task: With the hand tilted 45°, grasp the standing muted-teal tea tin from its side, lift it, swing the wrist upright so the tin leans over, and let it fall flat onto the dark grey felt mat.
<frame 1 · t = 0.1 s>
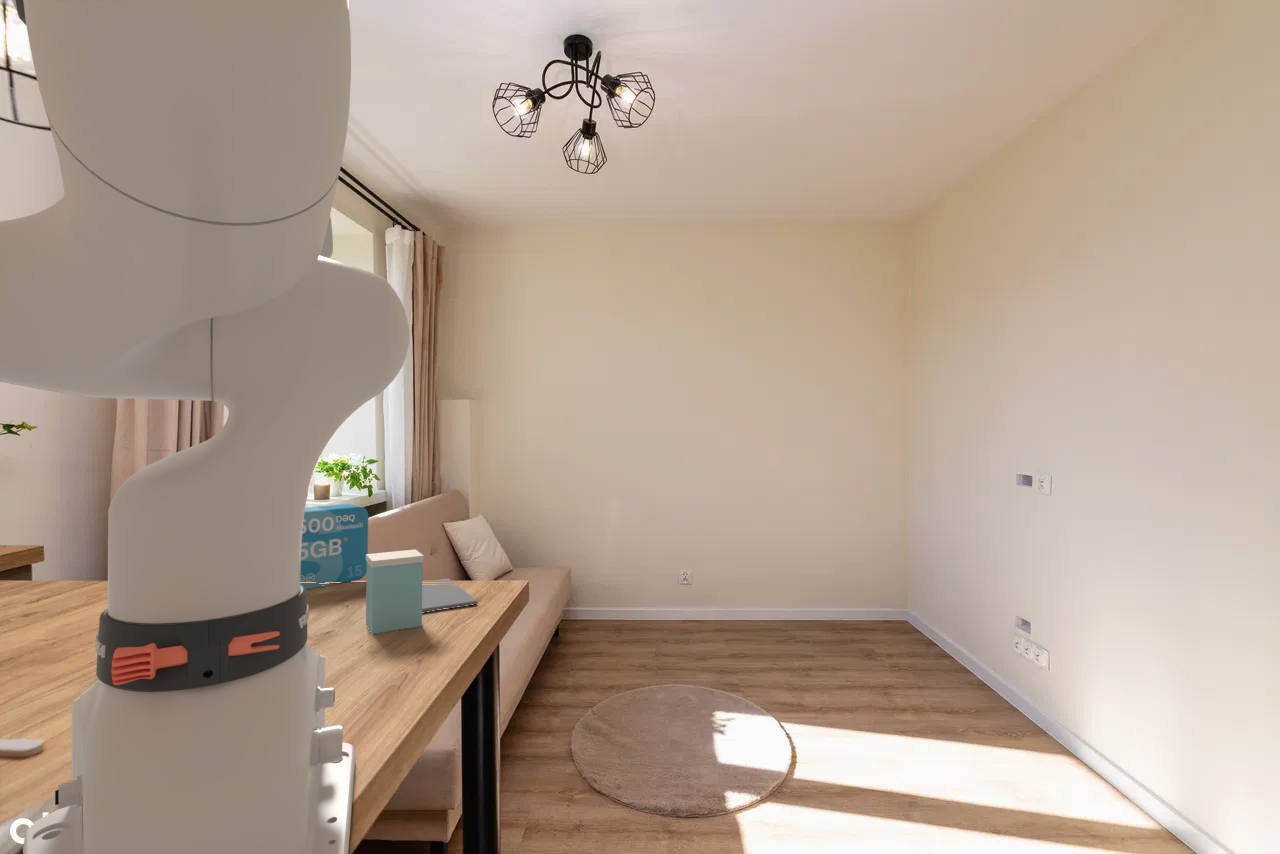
hand: (219, 296, 63), 39 cm above the table, tool pointing down, fingers open, 8 cm apart
data package: (324, 584, 99), on the table
tea tin: (393, 625, 80), on the table
felt mat: (421, 598, 92), on the table
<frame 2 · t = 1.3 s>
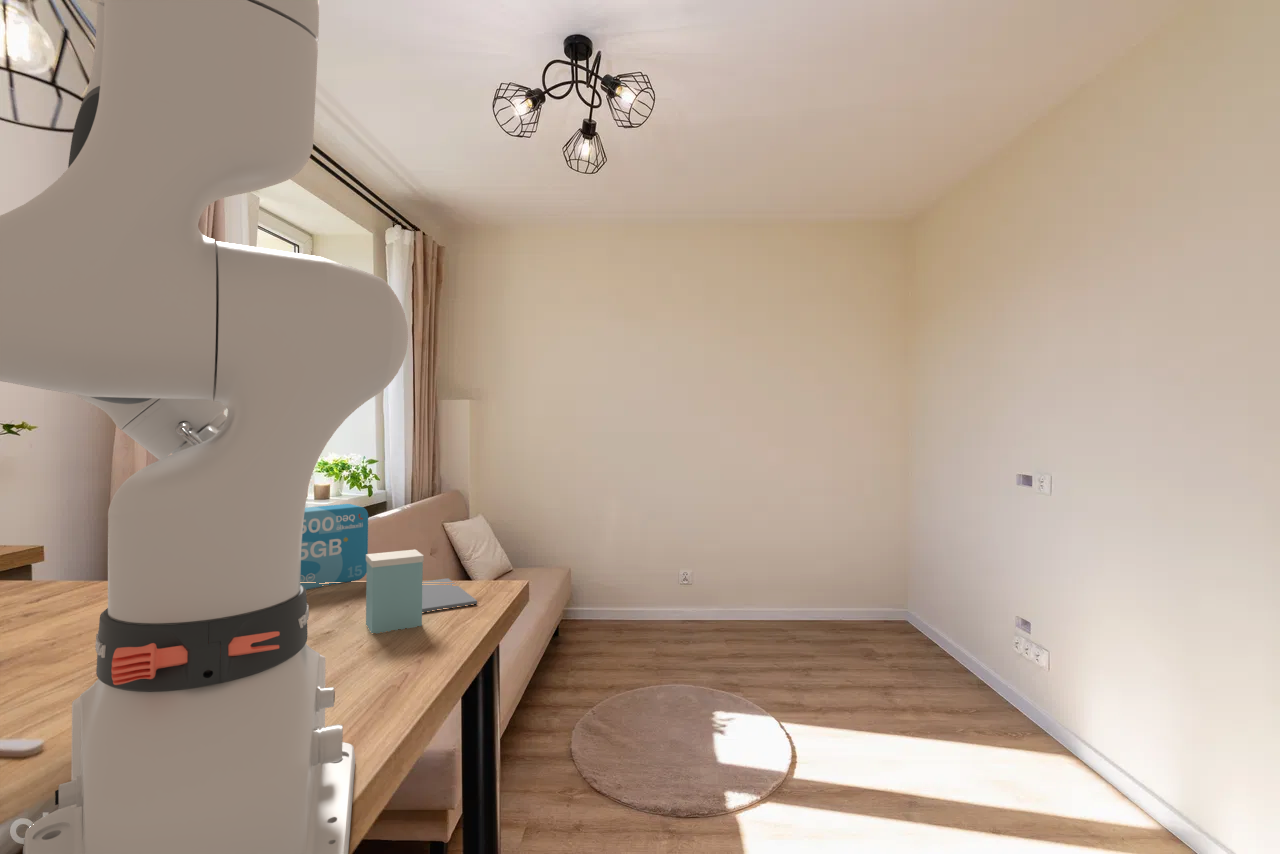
hand: (285, 505, 73), 16 cm above the table, tool tilted 45°, fingers open, 8 cm apart
nothing on the table moved.
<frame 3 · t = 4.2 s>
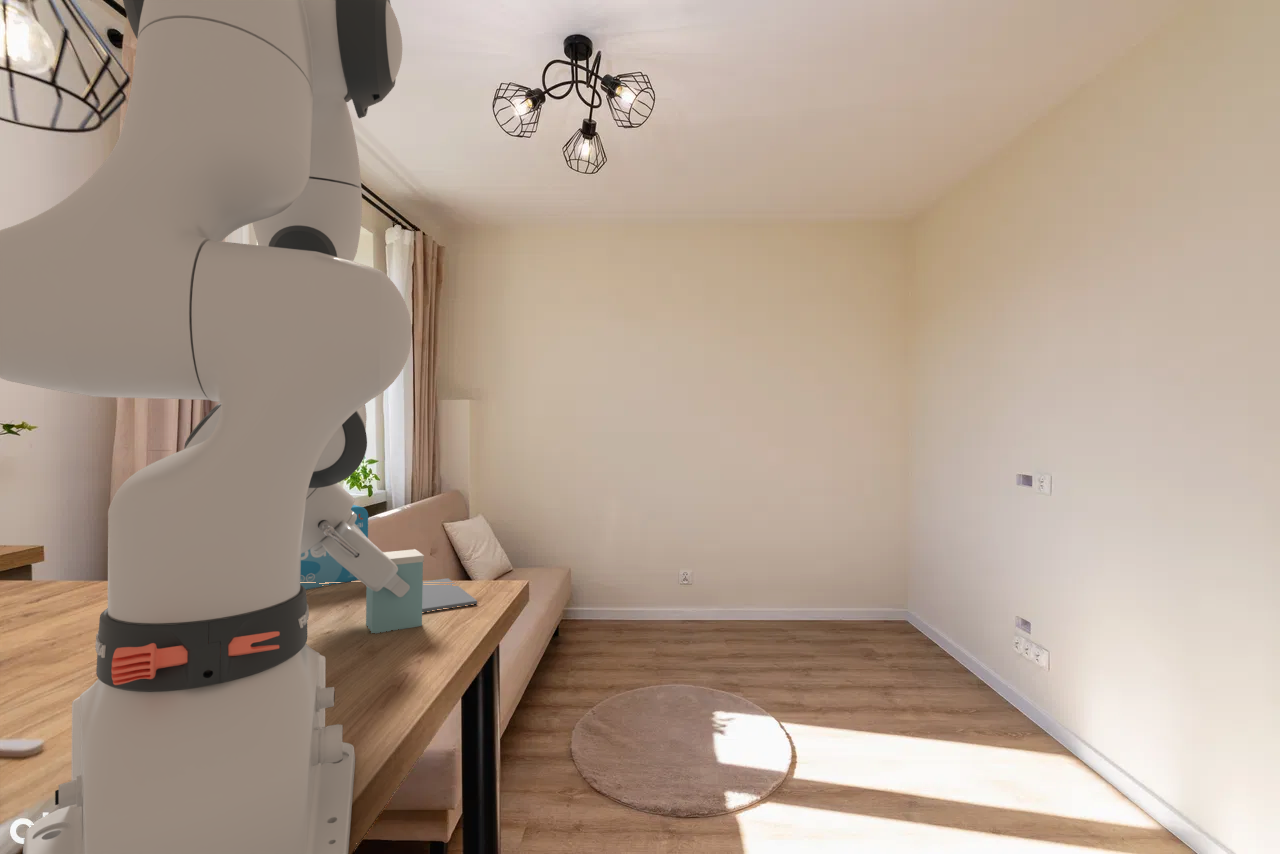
hand: (399, 586, 80), 5 cm above the table, tool tilted 45°, fingers closed on tea tin, 4 cm apart
tea tin: (393, 625, 80), on the table, touching gripper
everything else where it was.
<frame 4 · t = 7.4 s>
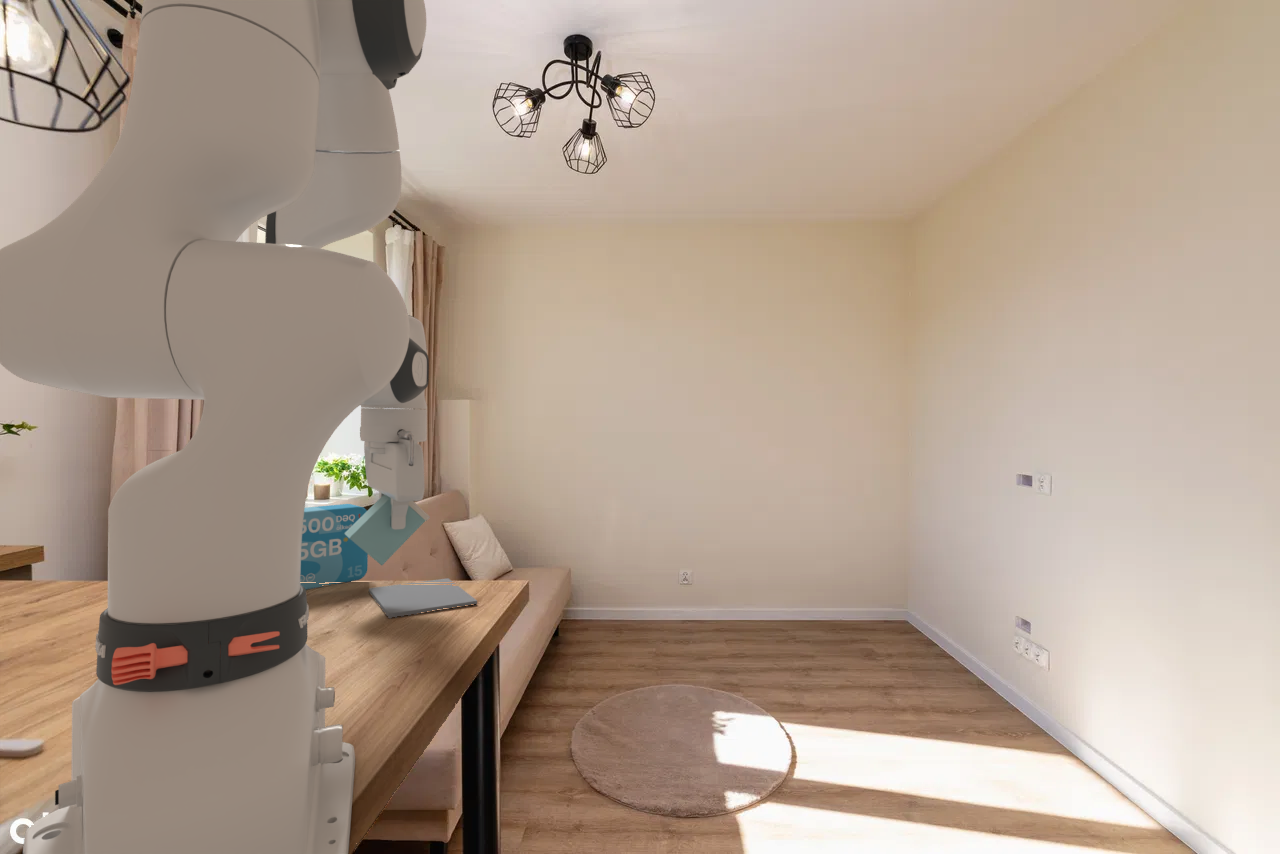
hand: (393, 525, 89), 11 cm above the table, tool pointing down, fingers closed on tea tin, 4 cm apart
tea tin: (363, 549, 87), point 8 cm above the table, tilted 45°, touching gripper
everything else where it was.
when the fingers open (7 cm above the table, at t = 8.6 s): tea tin moves 2 cm and tips over, resting on felt mat.
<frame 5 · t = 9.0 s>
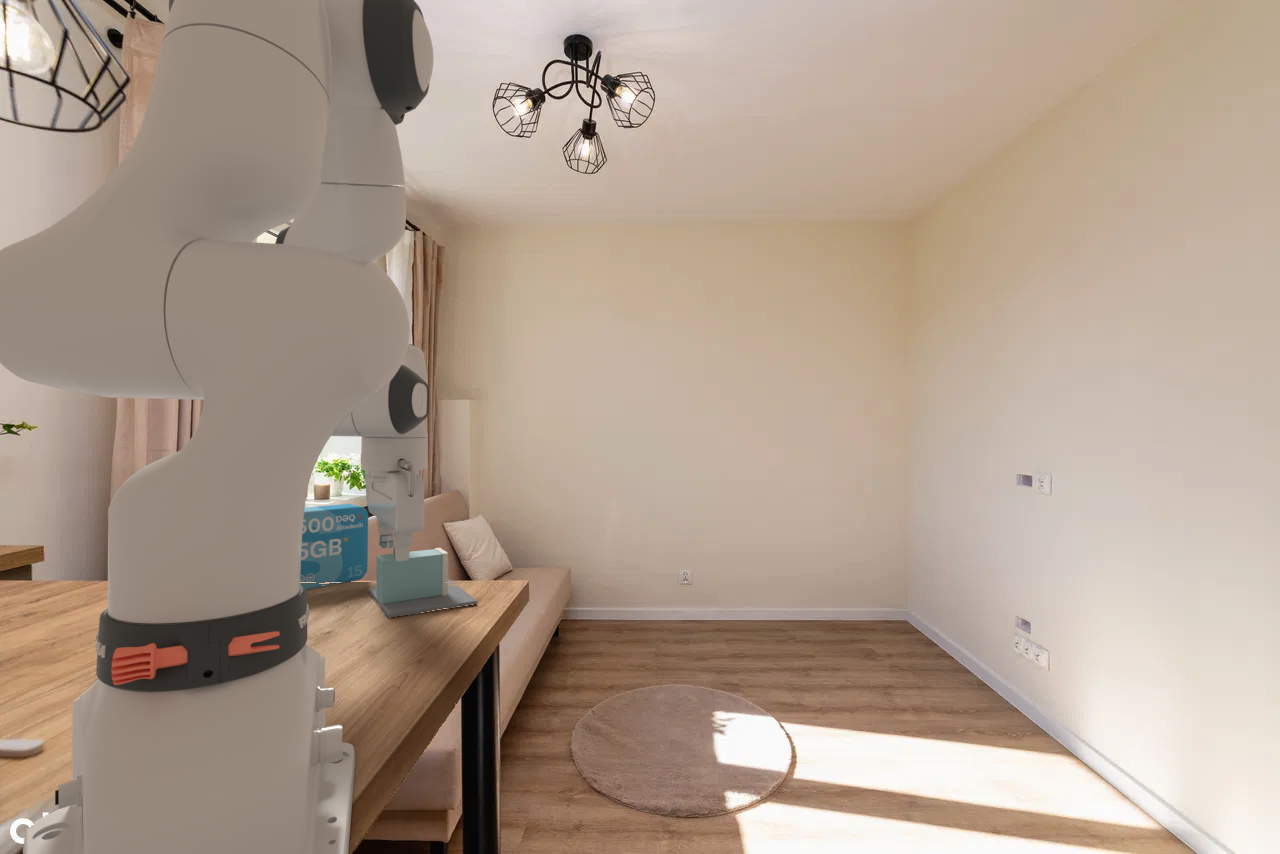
hand: (393, 553, 89), 7 cm above the table, tool pointing down, fingers open, 8 cm apart
tea tin: (379, 579, 88), point 4 cm above the table, tilted 89°, touching felt mat
everything else where it was.
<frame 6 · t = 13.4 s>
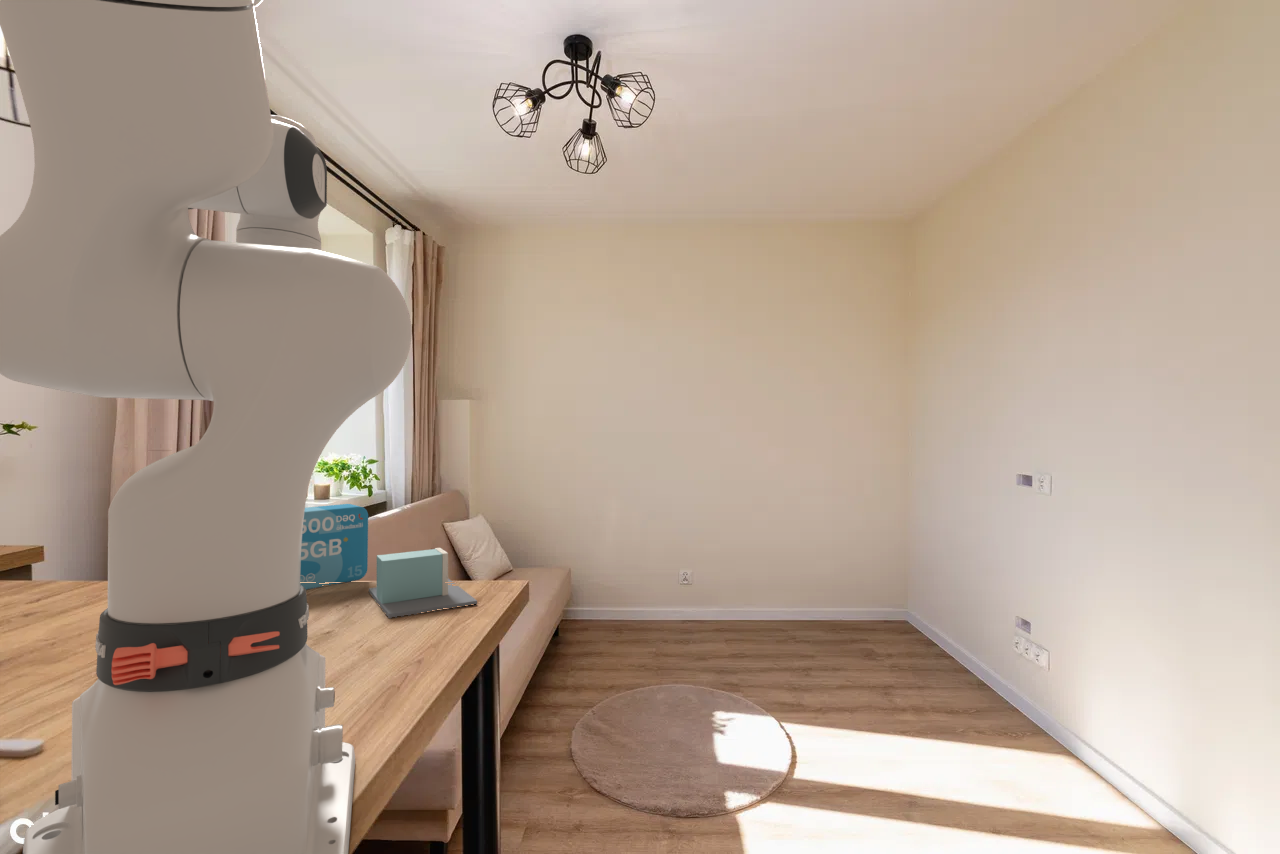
hand: (278, 378, 75), 31 cm above the table, tool pointing down, fingers open, 8 cm apart
nothing on the table moved.
at the end: tea tin tilted 89°; tea tin inside the target area (6.4 cm from its centre), point 3.6 cm above the table; the gripper is holding nothing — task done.
